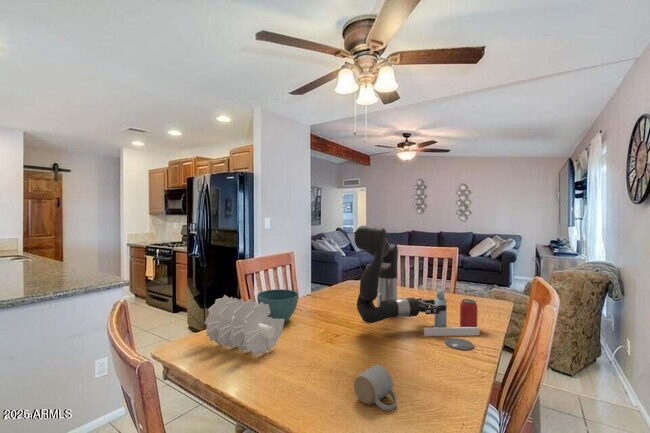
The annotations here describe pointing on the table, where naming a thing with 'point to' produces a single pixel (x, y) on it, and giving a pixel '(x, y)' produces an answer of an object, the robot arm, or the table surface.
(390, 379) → the ceramic mug
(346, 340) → the table surface
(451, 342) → the coaster
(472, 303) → the beer can
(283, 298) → the dark green bowl
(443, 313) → the grey bottle
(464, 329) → the wall
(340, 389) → the table surface
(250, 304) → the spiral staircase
